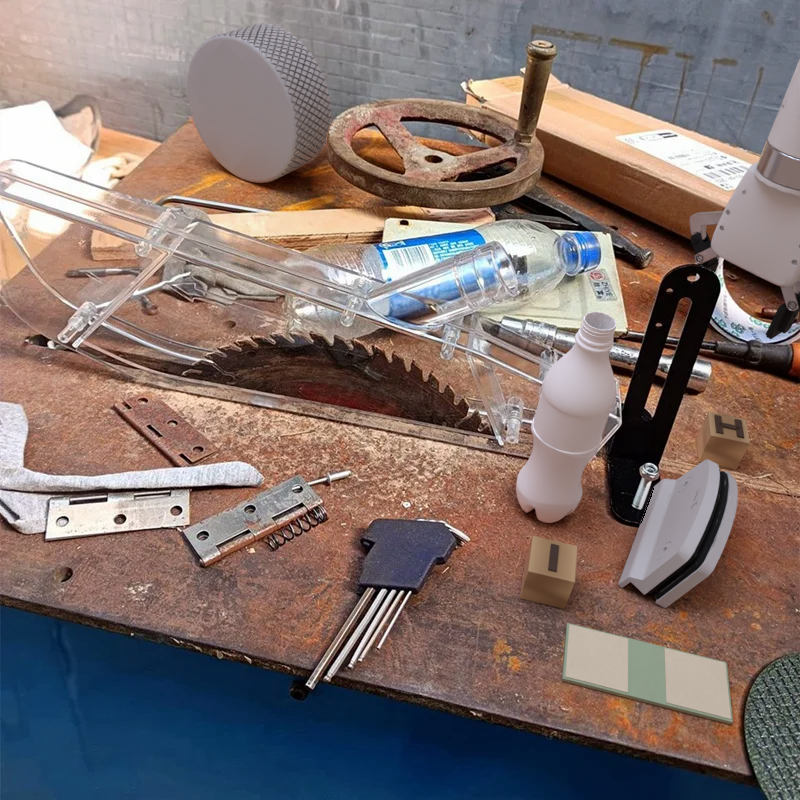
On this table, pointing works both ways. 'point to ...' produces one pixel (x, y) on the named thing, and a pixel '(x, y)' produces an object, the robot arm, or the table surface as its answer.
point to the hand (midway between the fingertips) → (735, 312)
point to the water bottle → (569, 422)
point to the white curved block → (682, 533)
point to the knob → (259, 101)
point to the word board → (647, 673)
